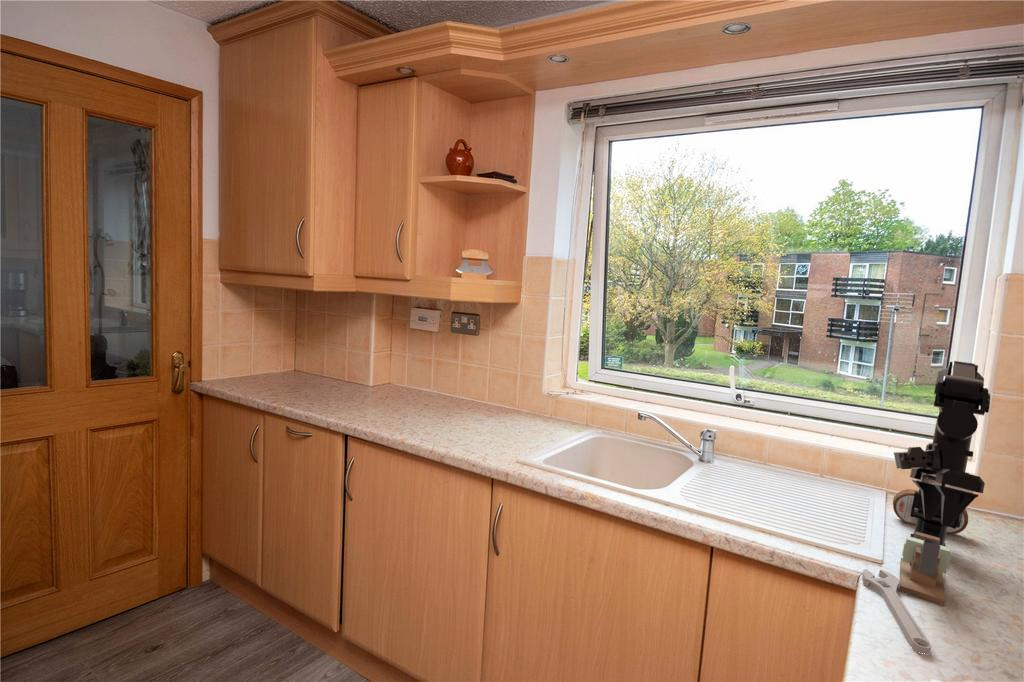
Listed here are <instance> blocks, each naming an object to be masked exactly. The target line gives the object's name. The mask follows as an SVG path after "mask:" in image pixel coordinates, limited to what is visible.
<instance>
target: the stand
mask: <svg viewBox="0 0 1024 682" xmlns="http://www.w3.org/2000/svg"><path fill="white" fill-rule="evenodd" d="M915 538H916V539H920V540H923V541H924V538H926V539H930V540H934V541H937V542H940V538H938V537H934V536H931V535H927V534H923V533H920V532H916V533H915ZM920 557H921V547H918V546H916V547H915V552H914V556H913V559H912V563H908V562H905V561H903V557H901V558H900V562H899V581H900V583H899V588H898V592H899V593H903V594H906V595H908V596H911V597H915V598H918V599H921V600H924V601H926V602H929V603H933V604H936V605H940V606H942V607H945V606H946V605H945V604H946V601H947V600H946V593H945V583H944V573H941V572H938V570H939V569H938V566H939V561H940V553H939V555H938V560H937V565H936V570H935V575H934V576H931V575H928V574H925V573H921V572H918V567H919V562H920Z"/></svg>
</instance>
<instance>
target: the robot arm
mask: <svg viewBox="0 0 1024 682" xmlns="http://www.w3.org/2000/svg"><path fill="white" fill-rule="evenodd" d="M978 369H979V365H978V364H975V363H973V362H972V363H971V362H965V361H957V360H953V361H949V365H948V366H947V367H946V368H944V369H941V370H939V371H938V372H937V376H936V377H937V378H936V380H935V386H934V387H935V388H934V393H933V394H934V395H935V397H934V402H933V407H935V408H938V409H939V411H940V413H938V415H937V417H936V423H935V427H934V428H935V429H934V433H933V438H932V442H931V443H928V444H926V447H925V450H923V448H922V446H913V447H911V446H910V447H908V448H907V451H895V452H893V455H894V456H893V457H894V460H895V466H896V469H901V470H910V475H909V477H910V478H912V479H911V481H912V483H914V485H915V486H916V487H918V491H919V492H918V491H915V494H914V499H913V504H912V509H911V514H910V517H915V518H917V520H916V525H914V532H913V533H910V536H909V537H913V538H915V533H916V532H920V533H923V534H927V535H931V536H934V537H938V538H940V545H941V546H945V547H946V543H945V541H946V537H947V534H946V533H947V528H948V527H951V528H953V529H956V528H959V527H960V523H961V519H962V515H963V511H964V509H967V508H968V507H969V506H970V504H971V503H972V502H973V501H974V500H975V499H976V498H979V496H980V495H979V494H984V489H985V484H986V483H985V481H984V480H983V479H982V477H980V476H977V475H973V474H970V473H969V472H967V471H966V470H967V464H968V460H969V458H973V456H974V451H973V450H971V449H970V448H971V445H972V444H971V443H972V438H973V434H974V433H975V432H976V431H977V429H978V425H979V424H978V423H979V422H978V419H977V417H976V415H978V416H984V415H985V414H986V413H987V414H988V413H989V411H990V404H991V393H989V389H988V387H987V388H986V387H984V386H985V383H984V382H985V378H984V377H983V376H982V375H981V373H980V372H979V371H978ZM976 493H979V494H976ZM914 508H917V509H918V510H917V509H914Z"/></svg>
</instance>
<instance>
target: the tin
mask: <svg viewBox="0 0 1024 682" xmlns="http://www.w3.org/2000/svg"><path fill="white" fill-rule="evenodd" d="M915 491H918V492H919V489H918V490H917V489H913V488H911V489H910V488H908V489H903V490H901V491H898V492H897V493H896V494H895V495H894V497H893V500H892V507H893V512H894V513H895V515H896V516H897V517H898V519H900V521H902V522H904V523H906V524H909V525H912V526H915V525H916V520H917V518H915V517H910V514H911V509H912V504H913V499H914V494H915ZM914 509H917V508H914ZM917 510H918V509H917ZM968 524H969V514H968V511H967V508H965V509H964V511H963V515H962V519H961V523H960V527H959V528H956V529H953V528H951V527H948V528H947V533H946V535H956V534H960V533H961V532H964V531H965V529H966V528H967V526H968Z"/></svg>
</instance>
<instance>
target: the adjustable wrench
mask: <svg viewBox="0 0 1024 682" xmlns="http://www.w3.org/2000/svg"><path fill="white" fill-rule="evenodd" d="M861 580H862V585H863V586H866V587H867V588H869V589H872V590H874V592H876V593H877V594H879V595H880V596H881V598H883V601H884V602H885V604H886V606H887V607H888V609H889V612H890V613H891V614H892V617H893V618H894V620H895V621H896V623H897V625H898V627H899V629H900V631H901V633H902V635H903V636H904V638H905V640H906V641H907V643H908V645H909V646H911V647H912V648H911V647H910V648H911V649H912V650H913V649H914V650H916V651H917V652H916V651H915V652H916V653H918V652H920V653H923V654H924V653H925V654H929V653H930V654H931V649H932V644H931V642H930V641H929V639H928V638H927V636H926V635H925V633H924V631H922V628H921V627H920V626H919V625H918V623H917V621H916V620H915V618H914V617H913V616H912V614H911V613H910V611H909V610H908V608H907V606H906V605H905V603H904V602H903V601H902V598H901V597H900V596H899V594H898V593H897V592H898V591H899V583H900V581H899V580H900V578H898V577H897V576H896V575H894V574H893V573H890V572H889V571H887V570H883V569H879V573H878V577H876V575H875V574H874V573H873V572H871V571H870V570H869V569H868V568H864V569H863V570H862V575H861ZM914 650H913V651H914ZM920 653H919V654H920ZM923 654H922V655H923ZM930 654H929V655H930Z"/></svg>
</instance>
